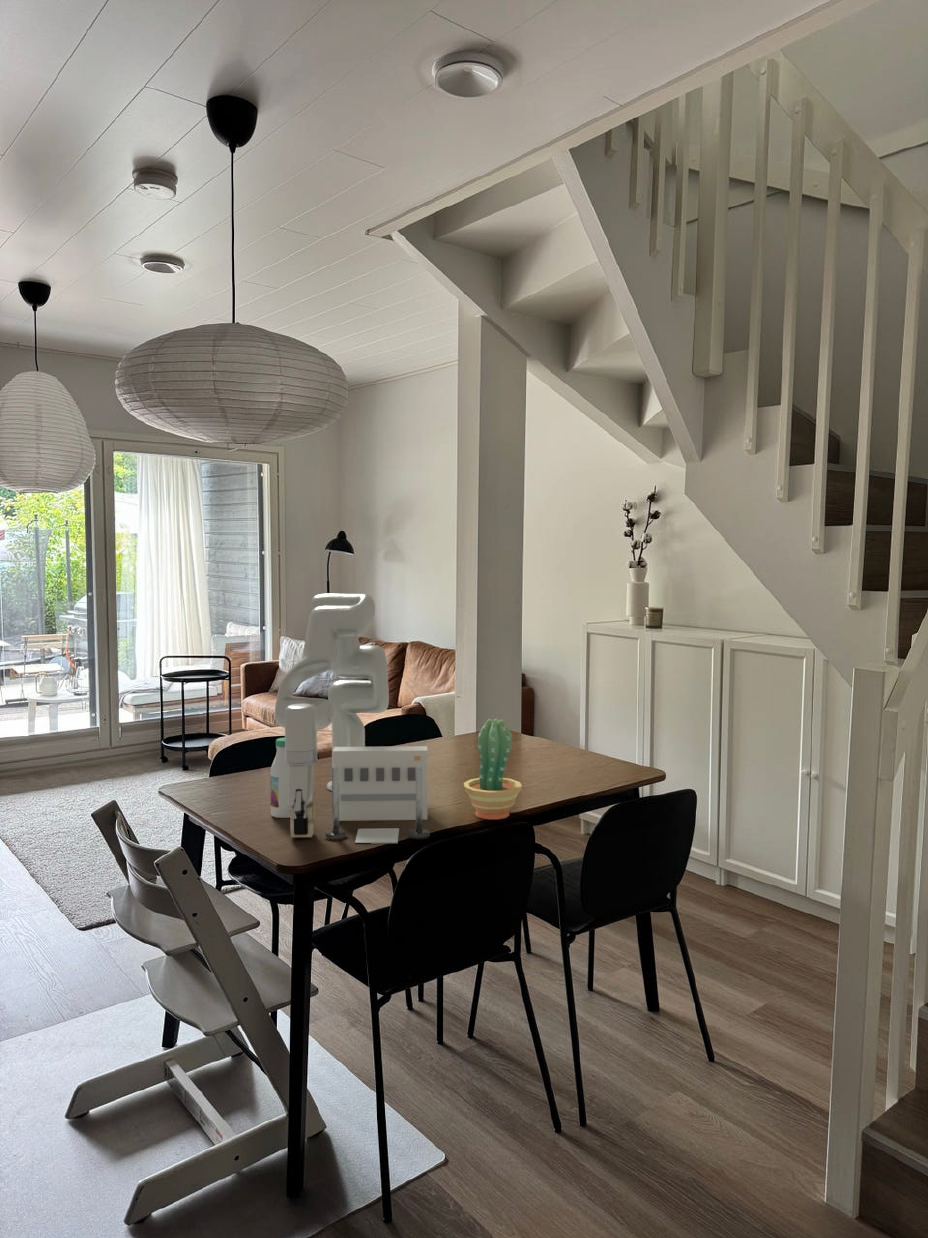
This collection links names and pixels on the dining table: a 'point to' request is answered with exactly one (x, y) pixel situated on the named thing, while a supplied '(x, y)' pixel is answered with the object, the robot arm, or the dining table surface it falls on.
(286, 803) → the milk bottle
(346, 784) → the switch box
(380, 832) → the mat
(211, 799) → the dining table surface
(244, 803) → the dining table surface
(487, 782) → the potted cactus
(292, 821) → the birch block
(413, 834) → the post
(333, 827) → the post
